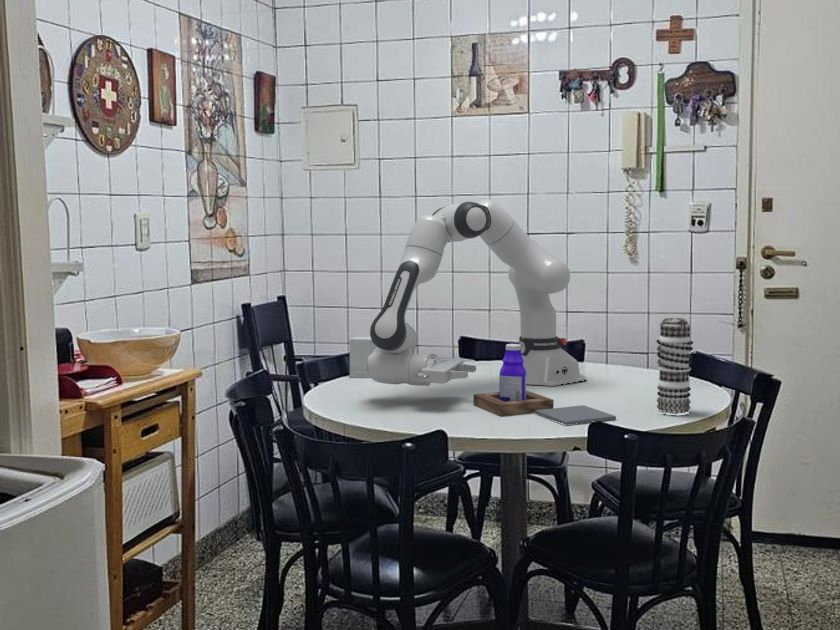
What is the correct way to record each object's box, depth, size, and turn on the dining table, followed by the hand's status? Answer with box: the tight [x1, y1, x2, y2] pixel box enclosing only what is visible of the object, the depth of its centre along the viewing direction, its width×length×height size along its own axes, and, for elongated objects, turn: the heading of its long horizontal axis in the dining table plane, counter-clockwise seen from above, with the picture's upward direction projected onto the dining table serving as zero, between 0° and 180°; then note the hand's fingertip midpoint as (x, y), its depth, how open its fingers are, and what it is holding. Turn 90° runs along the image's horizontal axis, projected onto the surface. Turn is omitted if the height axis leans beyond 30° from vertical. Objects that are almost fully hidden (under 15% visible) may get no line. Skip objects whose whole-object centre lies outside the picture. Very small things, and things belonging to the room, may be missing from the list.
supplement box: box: [348, 336, 377, 379], centre depth 308 cm, size 7×7×13 cm
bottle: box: [498, 343, 527, 402], centre depth 256 cm, size 7×6×17 cm
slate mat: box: [534, 404, 617, 426], centre depth 245 cm, size 15×15×1 cm
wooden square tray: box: [472, 389, 555, 417], centre depth 257 cm, size 16×16×3 cm
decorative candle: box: [656, 317, 694, 414], centre depth 248 cm, size 9×9×25 cm
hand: (471, 371), depth 260 cm, fingers open, 8 cm apart
